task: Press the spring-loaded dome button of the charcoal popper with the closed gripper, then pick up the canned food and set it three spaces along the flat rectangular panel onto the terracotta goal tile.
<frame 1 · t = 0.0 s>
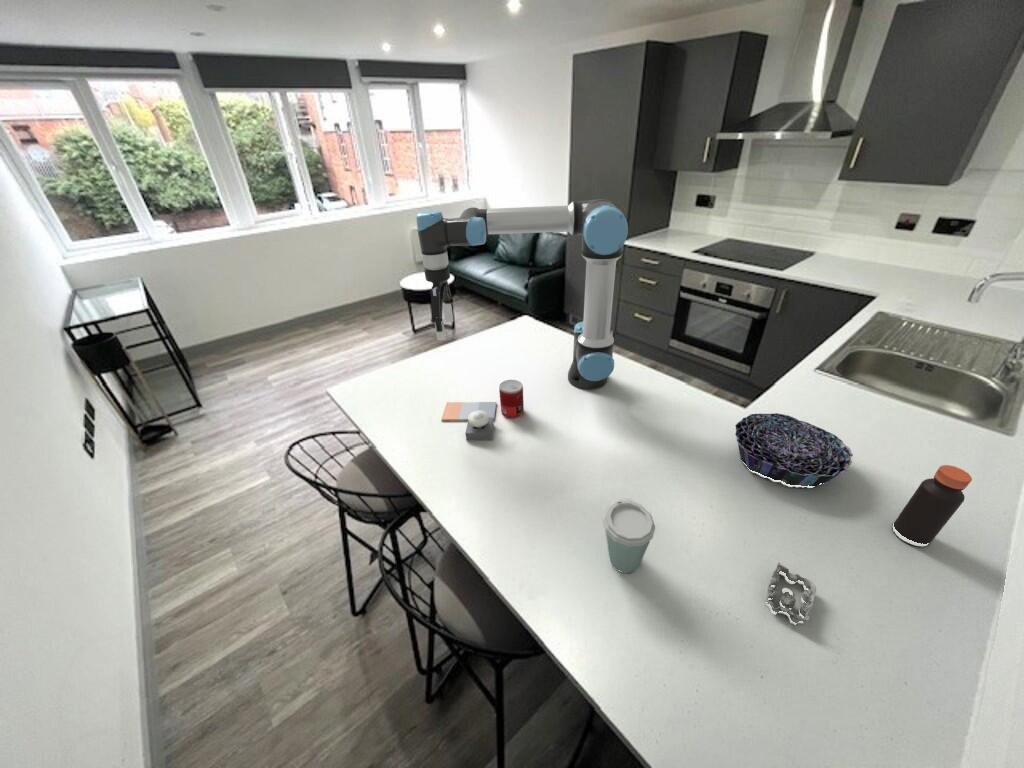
hand: (445, 330, 136), 28 cm above the counter, fingers open, 13 cm apart
dome button: (478, 420, 132), point 5 cm above the counter, slide at -0.7 cm
disposable coffee cup: (622, 561, 94), on the counter
bottle: (909, 535, 96), on the counter
decorative bowl: (781, 463, 117), on the counter
grey lumpy piece: (786, 600, 85), on the counter
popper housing: (480, 432, 135), on the counter
canned food: (512, 412, 143), on the counter
flat rectangular panel: (469, 412, 144), on the counter
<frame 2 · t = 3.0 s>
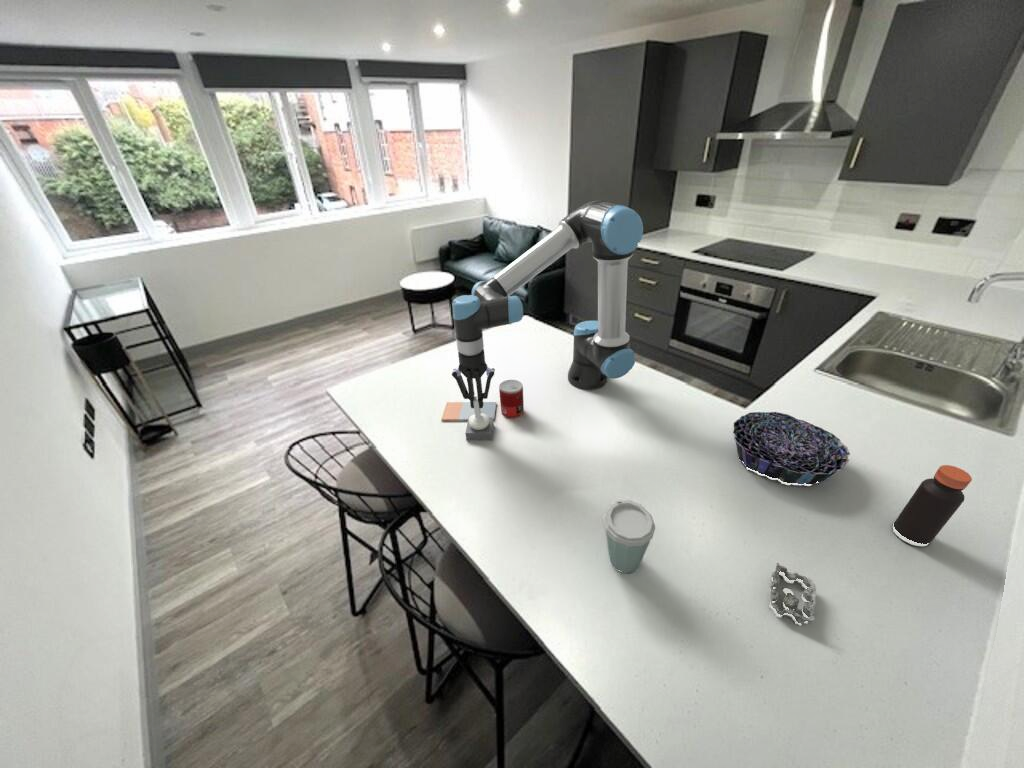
hand: (478, 415, 131), 7 cm above the counter, fingers closed
dome button: (479, 422, 133), point 4 cm above the counter, slide at -1.9 cm, touching gripper
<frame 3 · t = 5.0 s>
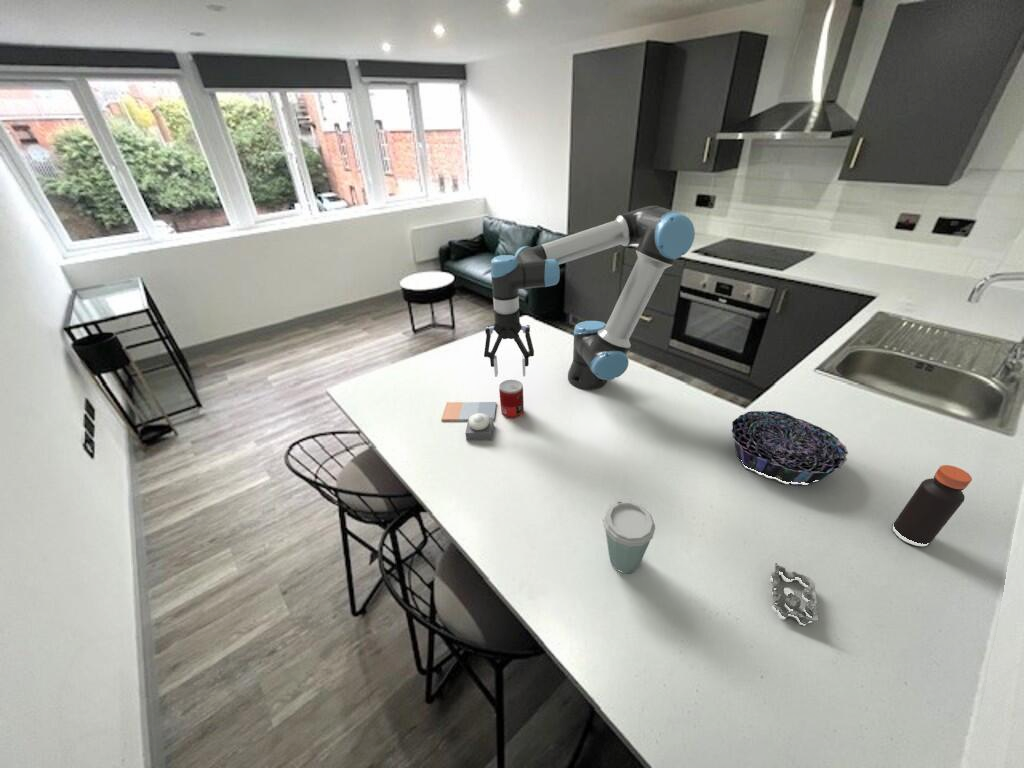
hand: (510, 374, 135), 15 cm above the counter, fingers open, 8 cm apart
dome button: (479, 423, 133), point 4 cm above the counter, slide at -1.9 cm
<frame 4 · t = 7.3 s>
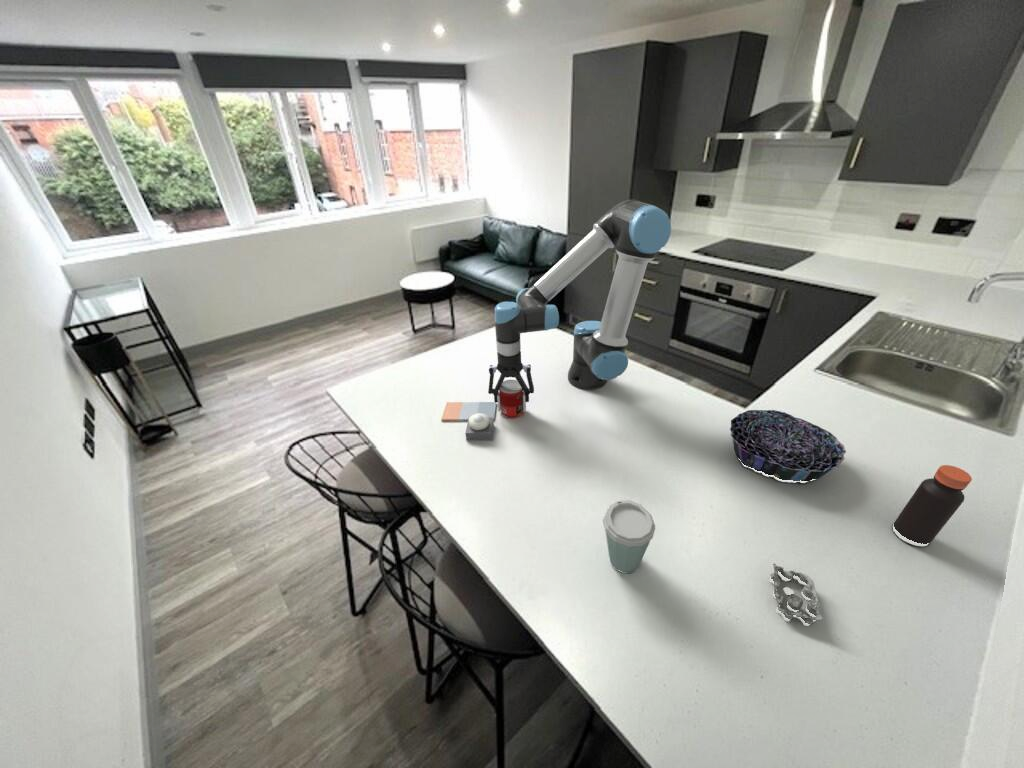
hand: (512, 408, 143), 1 cm above the counter, fingers closed on canned food, 8 cm apart
canned food: (512, 412, 143), on the counter, touching gripper
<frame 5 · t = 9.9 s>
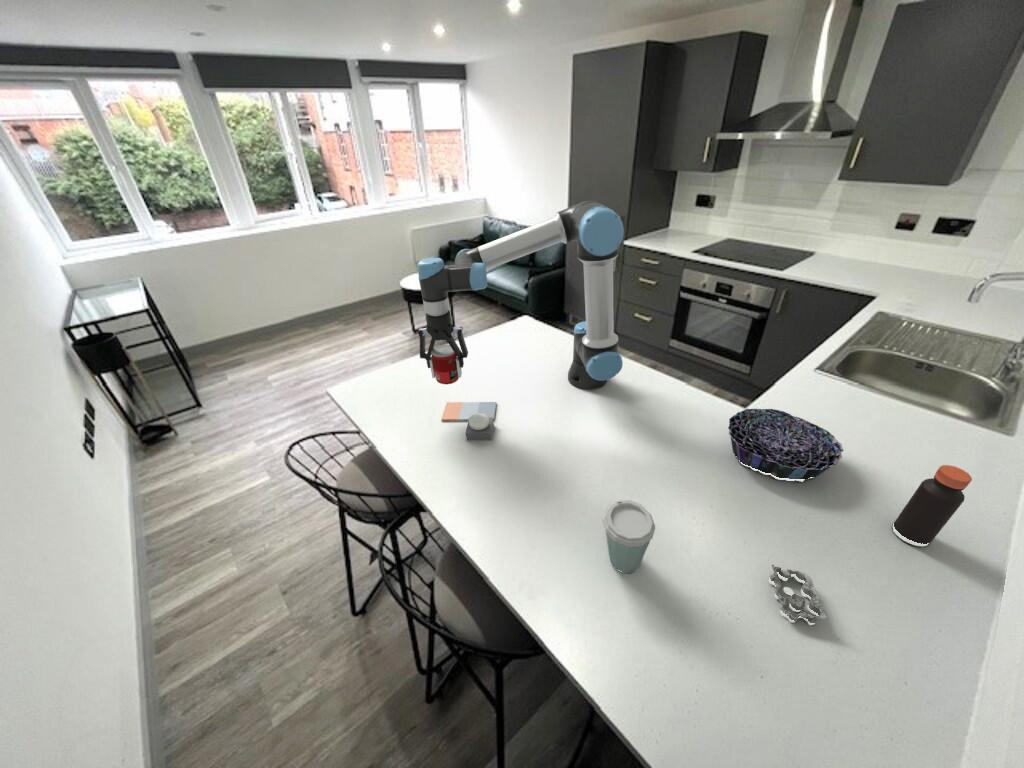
hand: (447, 375, 137), 15 cm above the counter, fingers closed on canned food, 8 cm apart
canned food: (447, 379, 137), point 14 cm above the counter, touching gripper
when the fingers open (3 cm above the counter, at t = 12.4 s): canned food drops 1 cm, resting on flat rectangular panel.
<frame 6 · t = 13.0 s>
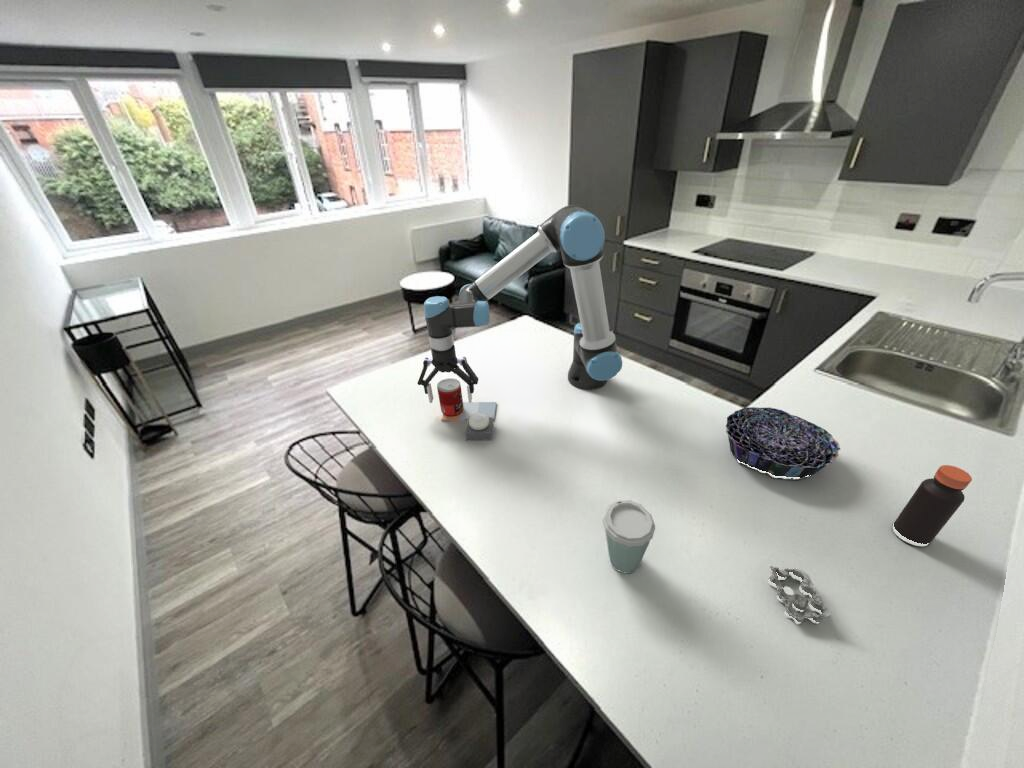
hand: (451, 400, 142), 5 cm above the counter, fingers open, 13 cm apart
canned food: (452, 411, 144), point 1 cm above the counter, touching flat rectangular panel
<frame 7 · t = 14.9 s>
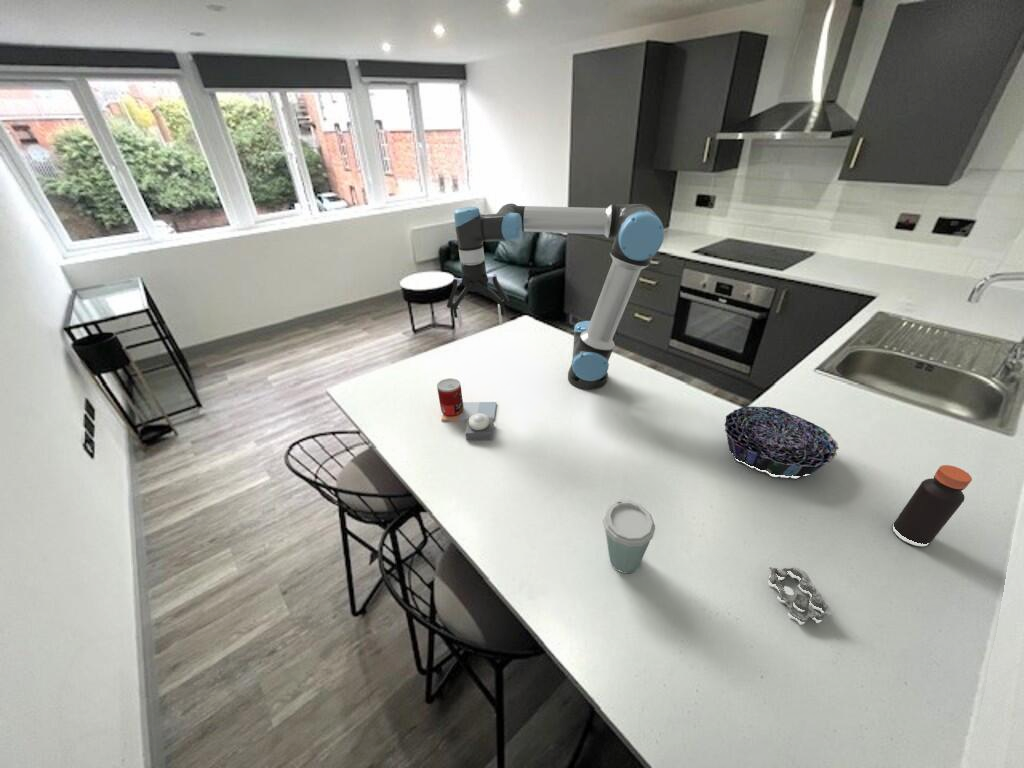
hand: (480, 324, 139), 28 cm above the counter, fingers open, 13 cm apart
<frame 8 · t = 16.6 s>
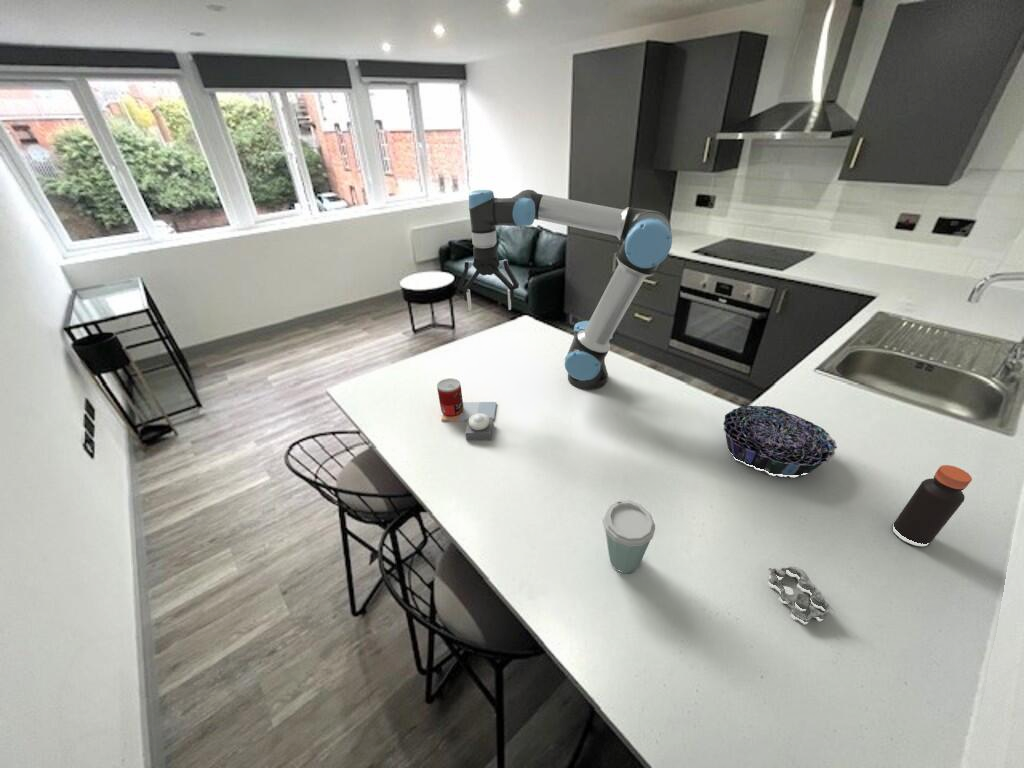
hand: (489, 308, 140), 32 cm above the counter, fingers open, 13 cm apart
at the end: canned food inside the target area on the flat rectangular panel (0.1 cm from its centre), point 0.6 cm above the flat rectangular panel's base; canned food tilted 0°; the gripper is holding nothing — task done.
